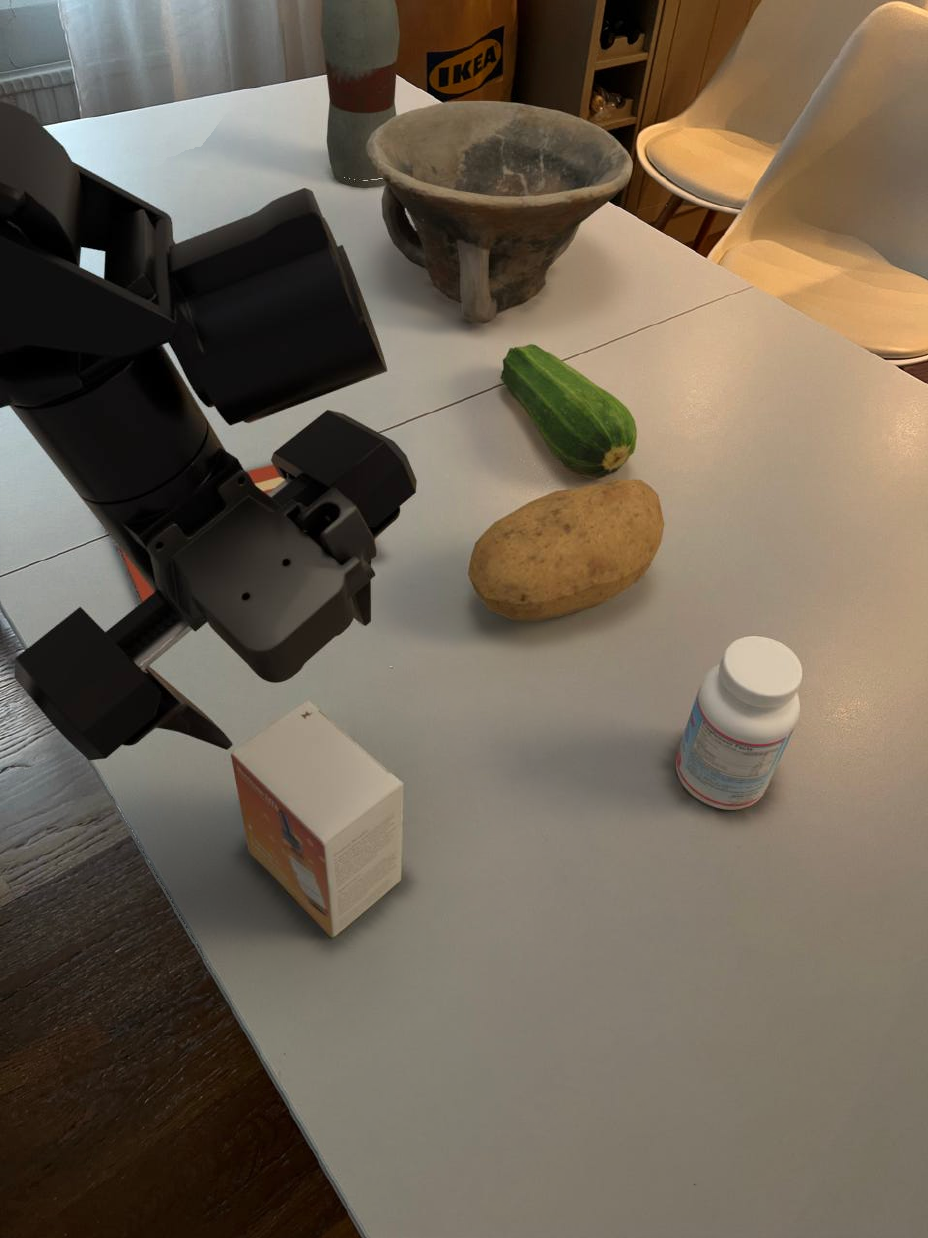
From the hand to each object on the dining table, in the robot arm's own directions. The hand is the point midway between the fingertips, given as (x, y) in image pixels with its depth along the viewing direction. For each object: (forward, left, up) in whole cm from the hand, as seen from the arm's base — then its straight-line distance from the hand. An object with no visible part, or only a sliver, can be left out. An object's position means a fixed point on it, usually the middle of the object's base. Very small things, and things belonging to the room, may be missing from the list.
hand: (296, 680), depth 50 cm
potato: (+25, +12, -16) cm, 32 cm away
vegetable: (+36, +31, -16) cm, 50 cm away
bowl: (+44, +58, -16) cm, 75 cm away
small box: (0, -2, -16) cm, 16 cm away
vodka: (+42, +89, -16) cm, 100 cm away
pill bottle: (+26, -7, -16) cm, 31 cm away
